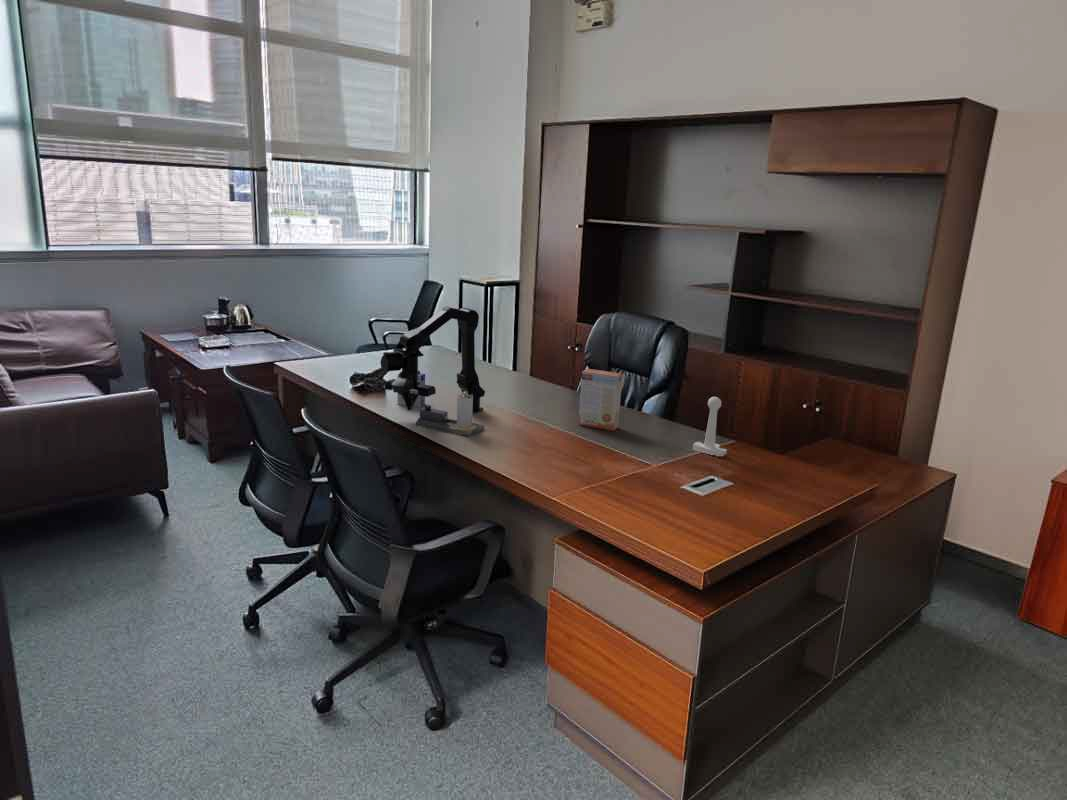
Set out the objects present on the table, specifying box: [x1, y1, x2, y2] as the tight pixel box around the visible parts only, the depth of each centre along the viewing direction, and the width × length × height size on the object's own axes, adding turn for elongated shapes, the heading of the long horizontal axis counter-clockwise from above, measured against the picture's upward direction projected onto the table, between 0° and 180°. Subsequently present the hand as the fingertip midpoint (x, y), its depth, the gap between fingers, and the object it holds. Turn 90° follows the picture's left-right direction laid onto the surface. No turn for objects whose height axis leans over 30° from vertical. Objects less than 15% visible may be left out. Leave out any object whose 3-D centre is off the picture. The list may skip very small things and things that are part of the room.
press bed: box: [414, 417, 485, 438], centre depth 263 cm, size 10×22×2 cm, turn 66°
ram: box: [419, 404, 449, 423], centre depth 264 cm, size 4×10×5 cm, turn 66°
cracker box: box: [578, 368, 623, 432], centre depth 271 cm, size 14×6×21 cm, turn 65°
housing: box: [456, 392, 473, 429], centre depth 259 cm, size 5×5×12 cm
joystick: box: [692, 396, 728, 457], centre depth 250 cm, size 11×8×20 cm
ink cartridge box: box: [397, 373, 426, 407], centre depth 288 cm, size 10×6×14 cm, turn 78°
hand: (409, 410), depth 269 cm, fingers closed
